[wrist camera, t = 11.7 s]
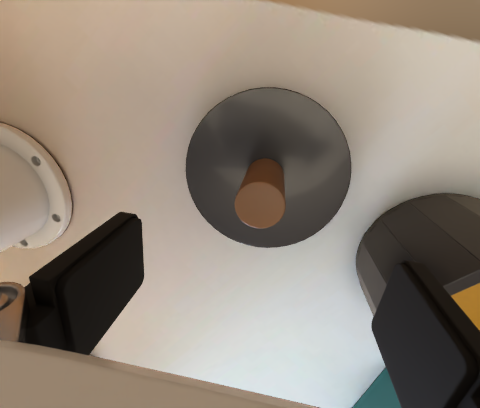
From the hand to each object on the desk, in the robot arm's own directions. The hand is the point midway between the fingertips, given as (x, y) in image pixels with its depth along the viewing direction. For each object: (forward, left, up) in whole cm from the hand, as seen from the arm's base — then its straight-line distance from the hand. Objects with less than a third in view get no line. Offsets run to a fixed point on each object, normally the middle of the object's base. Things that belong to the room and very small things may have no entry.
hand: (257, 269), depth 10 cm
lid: (0, 0, -13) cm, 13 cm away
